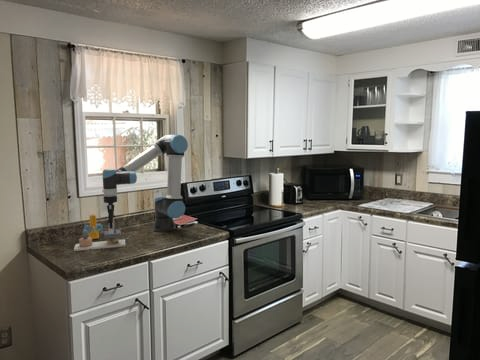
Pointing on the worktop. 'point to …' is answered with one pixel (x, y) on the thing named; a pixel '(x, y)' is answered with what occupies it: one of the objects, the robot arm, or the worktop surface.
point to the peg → (85, 240)
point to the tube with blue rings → (93, 227)
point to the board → (100, 245)
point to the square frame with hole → (115, 235)
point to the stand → (113, 240)
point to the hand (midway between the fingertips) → (111, 231)
